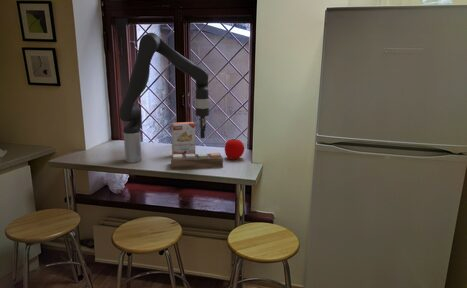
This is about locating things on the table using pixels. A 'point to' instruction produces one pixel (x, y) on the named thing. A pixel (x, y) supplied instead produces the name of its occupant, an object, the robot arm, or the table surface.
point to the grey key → (190, 156)
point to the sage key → (202, 155)
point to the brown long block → (196, 162)
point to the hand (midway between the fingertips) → (202, 137)
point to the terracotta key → (214, 155)
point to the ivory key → (177, 156)
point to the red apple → (234, 149)
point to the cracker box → (183, 138)
